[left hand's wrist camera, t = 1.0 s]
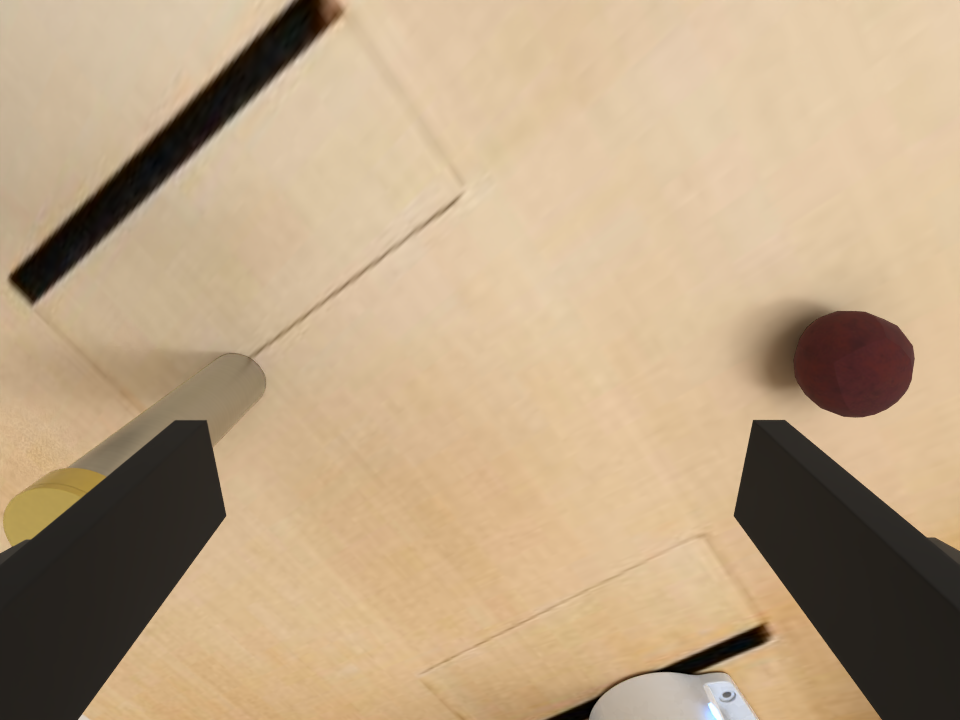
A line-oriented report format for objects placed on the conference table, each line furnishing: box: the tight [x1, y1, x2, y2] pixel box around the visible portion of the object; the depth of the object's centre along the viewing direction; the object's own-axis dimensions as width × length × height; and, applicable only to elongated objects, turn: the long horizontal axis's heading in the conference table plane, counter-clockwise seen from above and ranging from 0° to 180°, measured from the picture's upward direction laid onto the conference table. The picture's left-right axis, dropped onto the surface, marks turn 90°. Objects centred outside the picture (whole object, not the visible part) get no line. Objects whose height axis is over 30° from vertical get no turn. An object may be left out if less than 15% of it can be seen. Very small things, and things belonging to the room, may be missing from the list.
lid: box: [3, 468, 106, 547], centre depth 25 cm, size 5×5×2 cm
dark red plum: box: [794, 311, 915, 417], centre depth 38 cm, size 7×8×7 cm
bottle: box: [67, 354, 266, 477], centre depth 34 cm, size 4×4×19 cm
